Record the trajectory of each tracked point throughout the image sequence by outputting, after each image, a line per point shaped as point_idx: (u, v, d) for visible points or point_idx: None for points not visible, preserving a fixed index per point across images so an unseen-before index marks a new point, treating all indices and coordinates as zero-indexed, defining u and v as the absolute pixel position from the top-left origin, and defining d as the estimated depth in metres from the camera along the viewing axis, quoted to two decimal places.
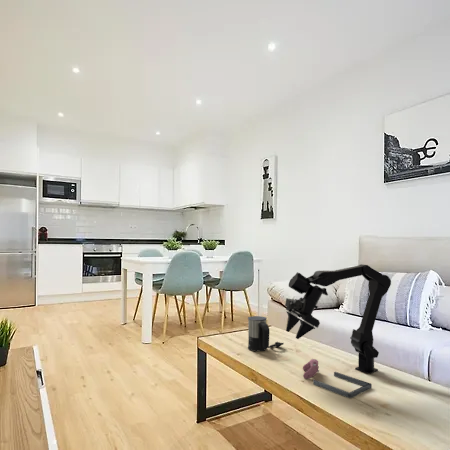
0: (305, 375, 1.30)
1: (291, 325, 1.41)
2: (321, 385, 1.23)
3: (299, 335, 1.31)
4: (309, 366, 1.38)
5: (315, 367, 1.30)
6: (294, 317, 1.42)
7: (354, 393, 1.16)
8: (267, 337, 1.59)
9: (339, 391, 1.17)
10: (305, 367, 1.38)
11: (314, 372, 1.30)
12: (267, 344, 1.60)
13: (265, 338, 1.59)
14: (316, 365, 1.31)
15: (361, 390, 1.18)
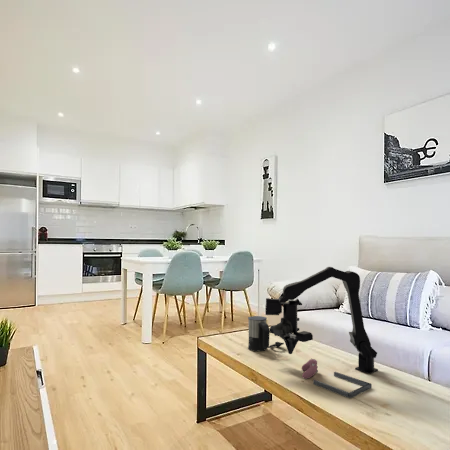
0: (304, 375, 1.30)
1: None
2: (321, 385, 1.23)
3: (291, 350, 1.42)
4: (308, 366, 1.38)
5: (314, 367, 1.30)
6: (289, 337, 1.44)
7: (354, 393, 1.16)
8: (267, 337, 1.60)
9: (339, 391, 1.17)
10: (304, 367, 1.38)
11: (313, 372, 1.30)
12: (267, 344, 1.60)
13: (265, 338, 1.59)
14: (315, 365, 1.31)
15: (361, 390, 1.18)
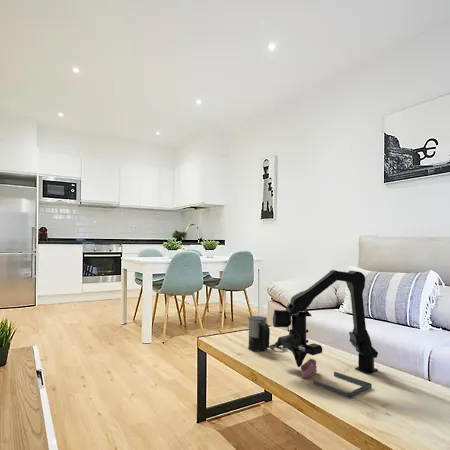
0: (303, 375, 1.30)
1: None
2: (321, 385, 1.23)
3: (300, 363, 1.39)
4: (307, 366, 1.38)
5: (313, 367, 1.30)
6: (298, 350, 1.40)
7: (354, 393, 1.16)
8: (267, 337, 1.60)
9: (339, 391, 1.17)
10: (303, 367, 1.38)
11: (312, 372, 1.30)
12: (267, 344, 1.60)
13: (265, 338, 1.59)
14: (314, 365, 1.31)
15: (361, 390, 1.18)
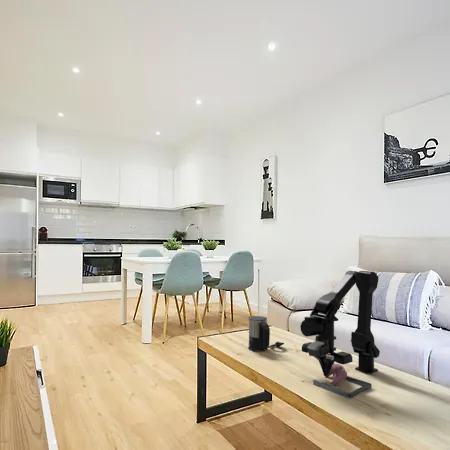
0: (335, 382, 1.24)
1: None
2: (321, 385, 1.23)
3: (327, 372, 1.28)
4: (331, 371, 1.32)
5: (344, 372, 1.25)
6: (324, 358, 1.30)
7: (354, 393, 1.16)
8: (267, 337, 1.60)
9: (339, 391, 1.17)
10: None
11: (343, 378, 1.24)
12: (267, 344, 1.60)
13: (265, 338, 1.59)
14: (344, 370, 1.26)
15: (361, 390, 1.18)
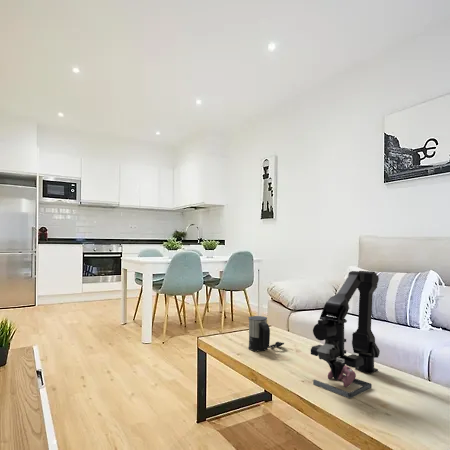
0: (346, 384, 1.23)
1: None
2: (321, 385, 1.23)
3: (337, 376, 1.25)
4: None
5: (353, 373, 1.25)
6: (334, 361, 1.27)
7: (354, 393, 1.16)
8: (267, 337, 1.60)
9: (339, 391, 1.17)
10: (331, 375, 1.30)
11: (353, 378, 1.24)
12: (267, 344, 1.60)
13: (265, 338, 1.59)
14: (352, 370, 1.26)
15: (361, 390, 1.18)
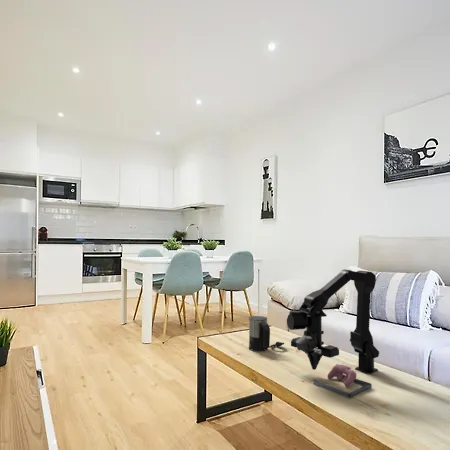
0: (348, 384, 1.23)
1: None
2: (321, 385, 1.23)
3: (315, 366, 1.33)
4: (334, 373, 1.31)
5: (353, 373, 1.25)
6: (312, 352, 1.34)
7: (354, 393, 1.16)
8: (268, 337, 1.60)
9: (339, 391, 1.17)
10: (331, 375, 1.30)
11: (354, 378, 1.24)
12: (268, 344, 1.60)
13: (266, 338, 1.60)
14: (352, 370, 1.26)
15: (361, 390, 1.18)
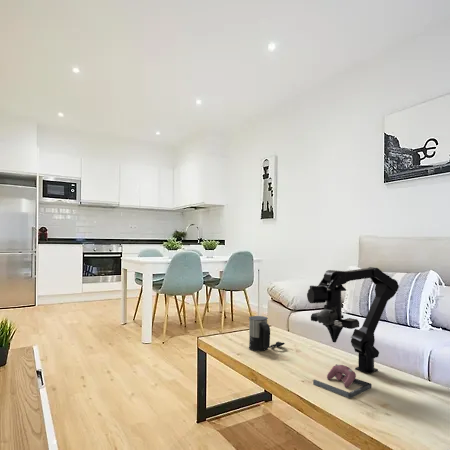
0: (347, 384, 1.23)
1: None
2: (321, 385, 1.23)
3: (336, 338, 1.37)
4: (334, 373, 1.30)
5: (353, 373, 1.25)
6: (332, 325, 1.38)
7: (354, 393, 1.16)
8: (268, 337, 1.60)
9: (339, 391, 1.17)
10: (330, 375, 1.30)
11: (353, 378, 1.24)
12: (268, 344, 1.60)
13: (266, 338, 1.60)
14: None
15: (361, 390, 1.18)
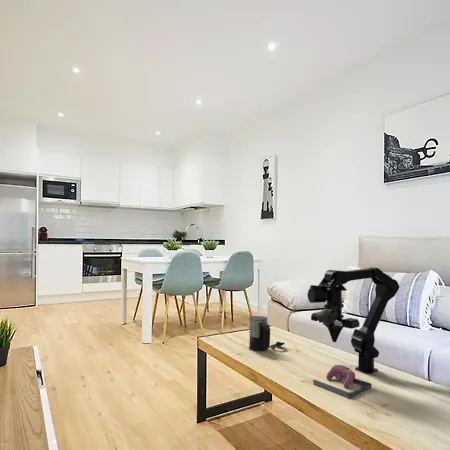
0: (347, 384, 1.22)
1: None
2: (321, 385, 1.23)
3: (336, 338, 1.37)
4: (333, 373, 1.30)
5: (352, 373, 1.25)
6: (333, 325, 1.38)
7: (354, 393, 1.16)
8: (268, 337, 1.60)
9: (339, 391, 1.17)
10: (329, 376, 1.30)
11: (353, 378, 1.24)
12: (268, 344, 1.60)
13: (266, 338, 1.60)
14: (351, 371, 1.26)
15: (361, 390, 1.18)
